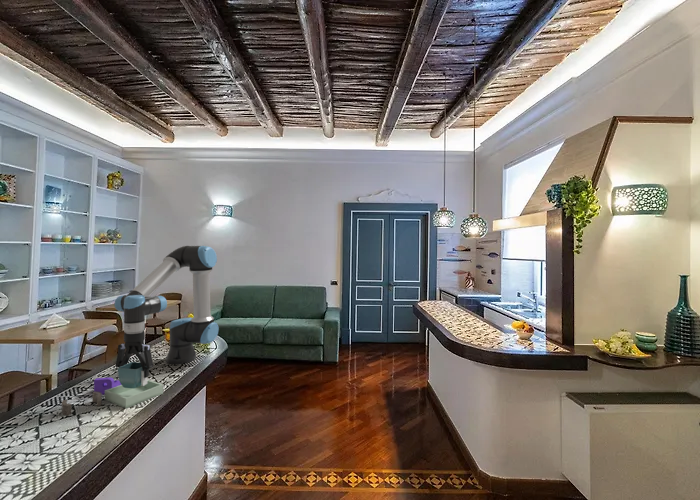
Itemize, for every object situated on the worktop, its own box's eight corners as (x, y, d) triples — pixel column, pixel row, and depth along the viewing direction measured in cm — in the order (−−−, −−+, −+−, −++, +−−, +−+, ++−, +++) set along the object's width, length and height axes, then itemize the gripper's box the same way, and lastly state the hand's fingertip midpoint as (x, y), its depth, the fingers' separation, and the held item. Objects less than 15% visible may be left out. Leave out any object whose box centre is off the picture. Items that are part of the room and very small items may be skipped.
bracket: (111, 394, 149) (111, 378, 149) (94, 395, 148) (94, 380, 148) (123, 383, 161) (123, 368, 161) (107, 384, 159) (107, 370, 159)
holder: (98, 399, 143) (97, 390, 143) (103, 404, 139) (103, 395, 139) (59, 411, 133) (59, 401, 133) (64, 417, 129) (64, 406, 129)
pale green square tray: (142, 386, 157) (142, 377, 157) (163, 393, 149) (163, 384, 149) (104, 399, 143) (104, 390, 143) (126, 408, 136) (126, 398, 136)
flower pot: (135, 391, 141) (136, 369, 141) (115, 389, 142) (116, 368, 142) (150, 383, 150) (150, 362, 150) (131, 382, 150) (132, 361, 151)
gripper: (104, 332, 143) (104, 386, 144) (150, 335, 141) (150, 389, 141) (119, 328, 151) (119, 379, 151) (163, 330, 148) (163, 382, 148)
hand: (134, 384), depth 146 cm, fingers closed on flower pot, 9 cm apart
